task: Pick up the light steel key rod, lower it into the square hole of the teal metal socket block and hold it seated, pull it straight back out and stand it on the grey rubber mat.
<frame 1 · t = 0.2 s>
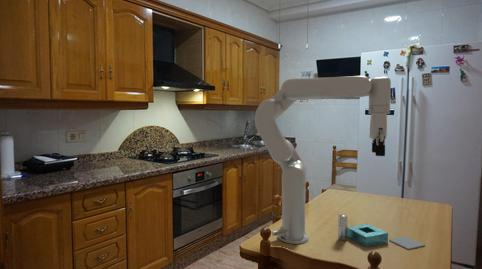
hand: (378, 154, 120), 36 cm above the table, tool pointing down, fingers open, 9 cm apart
teal socket block: (366, 239, 128), on the table
grey rubber mat: (406, 243, 124), on the table
steel key rod: (342, 239, 128), on the table
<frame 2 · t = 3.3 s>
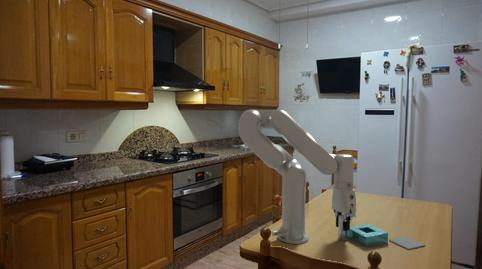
hand: (342, 227, 128), 5 cm above the table, tool pointing down, fingers closed on steel key rod, 3 cm apart
steel key rod: (342, 239, 128), on the table, touching gripper
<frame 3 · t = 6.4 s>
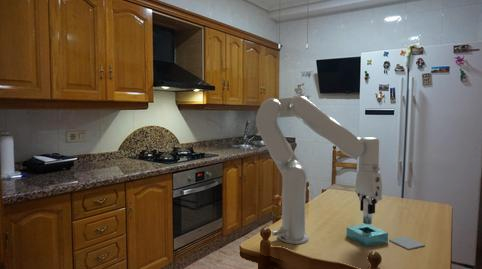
hand: (367, 211, 127), 12 cm above the table, tool pointing down, fingers closed on steel key rod, 3 cm apart
steel key rod: (367, 222, 127), point 7 cm above the table, touching gripper
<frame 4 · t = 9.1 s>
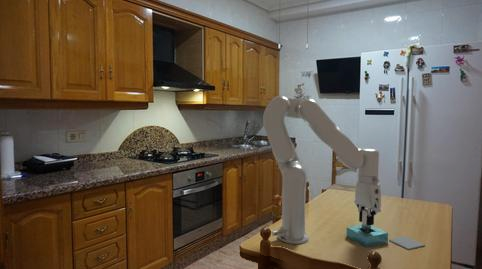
hand: (366, 222, 127), 7 cm above the table, tool pointing down, fingers closed on steel key rod, 3 cm apart
steel key rod: (365, 233, 127), point 2 cm above the table, touching gripper
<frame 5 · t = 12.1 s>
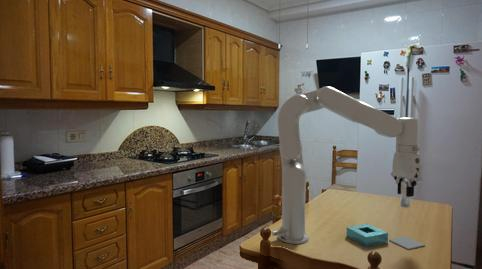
hand: (405, 194, 122), 20 cm above the table, tool pointing down, fingers closed on steel key rod, 3 cm apart
steel key rod: (405, 206, 123), point 15 cm above the table, touching gripper
when the fingers open (6 cm above the table, at t = 15.0 s): steel key rod stays where it is, resting on grey rubber mat.
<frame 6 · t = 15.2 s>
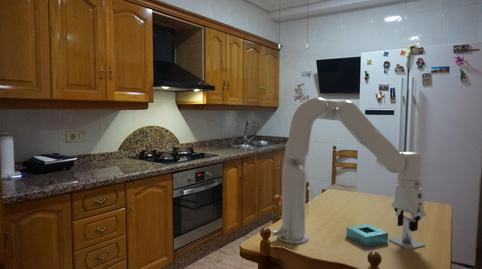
hand: (407, 227, 123), 6 cm above the table, tool pointing down, fingers open, 5 cm apart
steel key rod: (406, 241, 124), point 1 cm above the table, touching grey rubber mat
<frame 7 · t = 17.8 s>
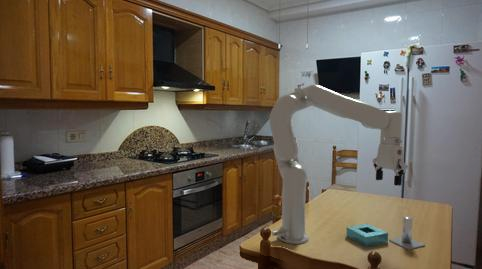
hand: (388, 182, 128), 23 cm above the table, tool pointing down, fingers open, 9 cm apart
nothing on the table moved.
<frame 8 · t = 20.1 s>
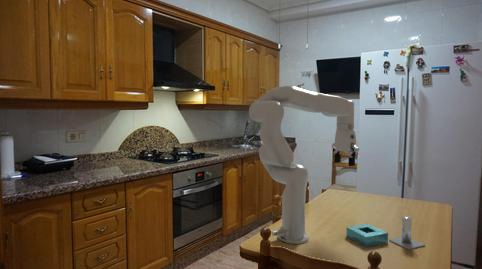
hand: (344, 164, 143), 28 cm above the table, tool pointing down, fingers open, 9 cm apart
nothing on the table moved.
at the end: steel key rod 0.1 cm off-centre on the grey rubber mat, point 0.5 cm above the grey rubber mat's base; steel key rod tilted 1°; the gripper is holding nothing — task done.
